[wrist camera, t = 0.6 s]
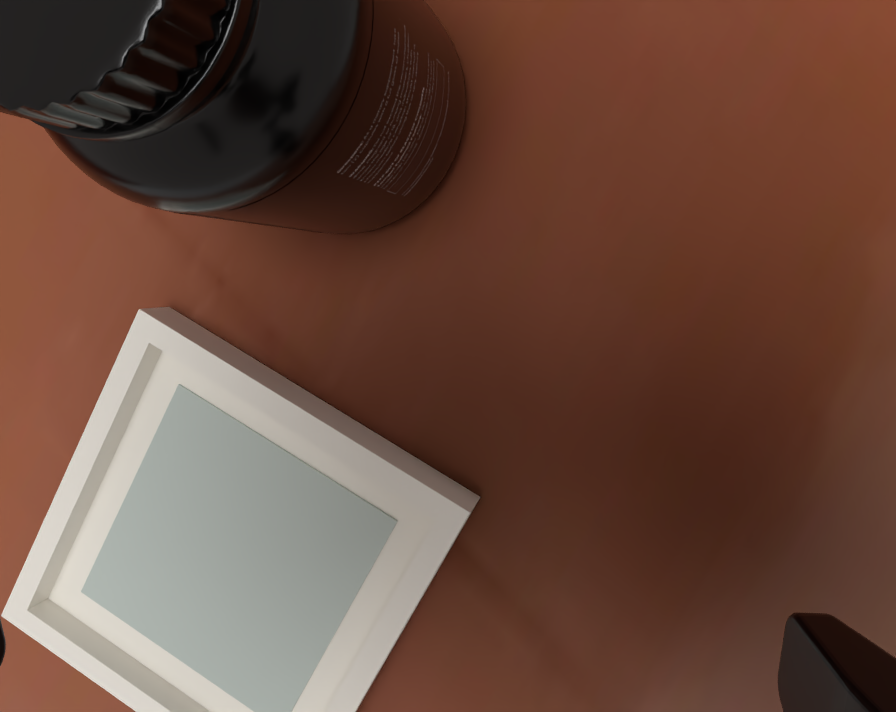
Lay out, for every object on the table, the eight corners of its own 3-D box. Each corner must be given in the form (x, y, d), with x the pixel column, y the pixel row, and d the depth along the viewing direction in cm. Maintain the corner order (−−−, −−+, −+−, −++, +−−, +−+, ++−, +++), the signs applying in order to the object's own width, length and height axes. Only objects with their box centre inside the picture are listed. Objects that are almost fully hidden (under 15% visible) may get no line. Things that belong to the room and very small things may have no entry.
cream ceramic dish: (480, 496, 22) (470, 512, 20) (311, 789, 24) (291, 821, 22) (169, 306, 23) (138, 308, 22) (36, 596, 25) (1, 615, 24)
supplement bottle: (380, -70, 21) (71, -508, 9) (519, 140, 21) (381, -38, 9) (193, 88, 22) (-270, -116, 11) (320, 284, 22) (-15, 293, 11)
